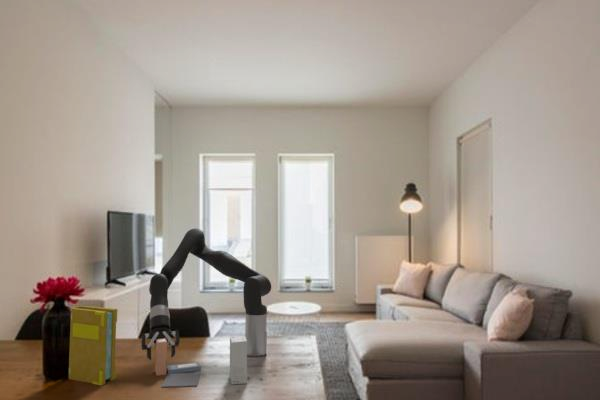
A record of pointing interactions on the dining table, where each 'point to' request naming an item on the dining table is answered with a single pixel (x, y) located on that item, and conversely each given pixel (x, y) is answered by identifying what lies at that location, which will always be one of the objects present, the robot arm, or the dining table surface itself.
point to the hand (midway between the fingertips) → (161, 357)
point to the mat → (181, 380)
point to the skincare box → (238, 360)
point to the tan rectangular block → (161, 356)
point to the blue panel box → (183, 368)
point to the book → (92, 344)
